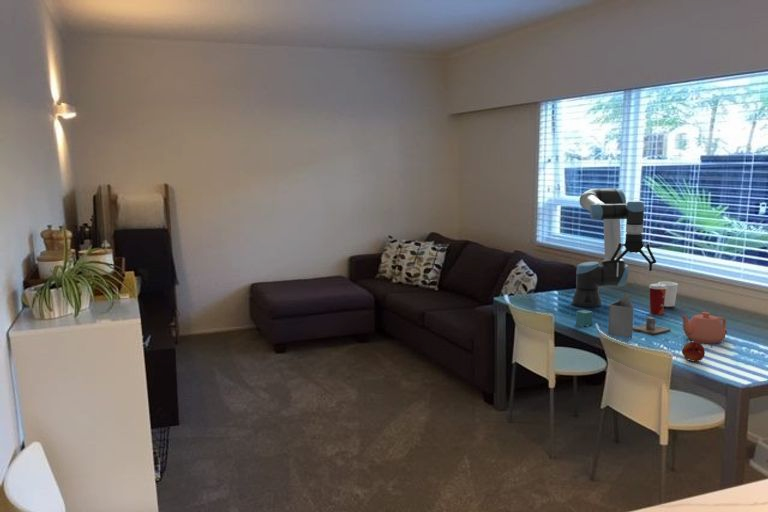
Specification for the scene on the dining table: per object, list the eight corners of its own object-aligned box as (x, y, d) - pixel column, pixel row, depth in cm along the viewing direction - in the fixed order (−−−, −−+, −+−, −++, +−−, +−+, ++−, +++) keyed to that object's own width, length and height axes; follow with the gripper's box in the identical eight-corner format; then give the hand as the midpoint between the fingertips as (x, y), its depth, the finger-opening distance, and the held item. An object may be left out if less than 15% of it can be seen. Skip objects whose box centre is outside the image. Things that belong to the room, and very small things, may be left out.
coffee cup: (667, 315, 302) (668, 286, 300) (649, 315, 304) (651, 286, 302) (663, 311, 310) (664, 283, 308) (646, 311, 312) (647, 283, 310)
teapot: (689, 347, 252) (691, 318, 250) (668, 336, 267) (669, 309, 265) (738, 344, 254) (740, 315, 252) (714, 334, 269) (715, 307, 267)
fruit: (682, 363, 232) (683, 343, 231) (680, 357, 239) (681, 337, 238) (705, 365, 229) (706, 345, 228) (702, 358, 237) (703, 339, 235)
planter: (602, 328, 282) (604, 288, 280) (619, 328, 282) (621, 288, 279) (614, 338, 266) (616, 295, 263) (632, 338, 266) (634, 295, 263)
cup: (671, 309, 314) (673, 286, 312) (653, 306, 321) (654, 283, 319) (679, 306, 320) (681, 283, 318) (661, 303, 328) (662, 280, 326)
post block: (630, 329, 279) (631, 317, 278) (647, 325, 285) (647, 313, 284) (653, 335, 269) (654, 322, 268) (670, 331, 275) (670, 318, 274)
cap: (576, 324, 290) (576, 311, 289) (583, 322, 292) (583, 309, 291) (584, 326, 285) (585, 313, 284) (592, 325, 288) (592, 311, 287)
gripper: (606, 233, 286) (604, 277, 289) (663, 234, 277) (661, 279, 280) (606, 231, 293) (605, 274, 296) (662, 232, 284) (660, 276, 287)
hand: (632, 276), depth 288 cm, fingers open, 13 cm apart
